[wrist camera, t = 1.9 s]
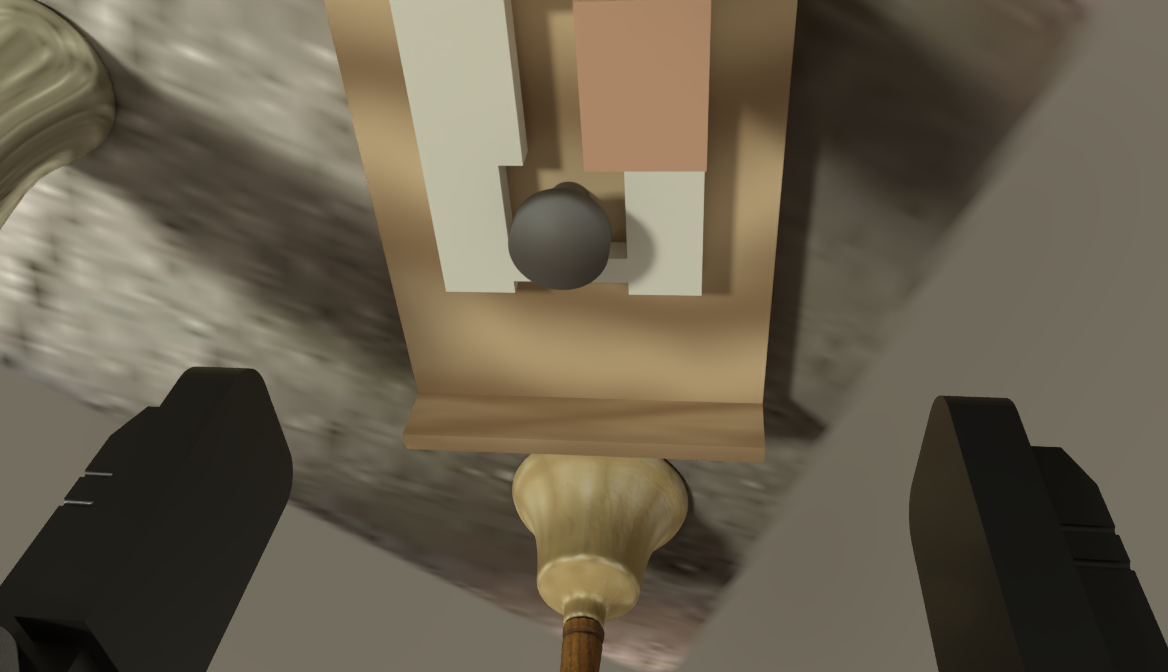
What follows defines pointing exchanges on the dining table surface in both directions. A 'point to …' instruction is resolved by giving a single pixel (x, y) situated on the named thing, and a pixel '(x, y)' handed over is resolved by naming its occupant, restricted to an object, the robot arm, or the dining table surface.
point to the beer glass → (46, 98)
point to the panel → (497, 138)
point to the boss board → (599, 325)
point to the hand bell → (595, 537)
